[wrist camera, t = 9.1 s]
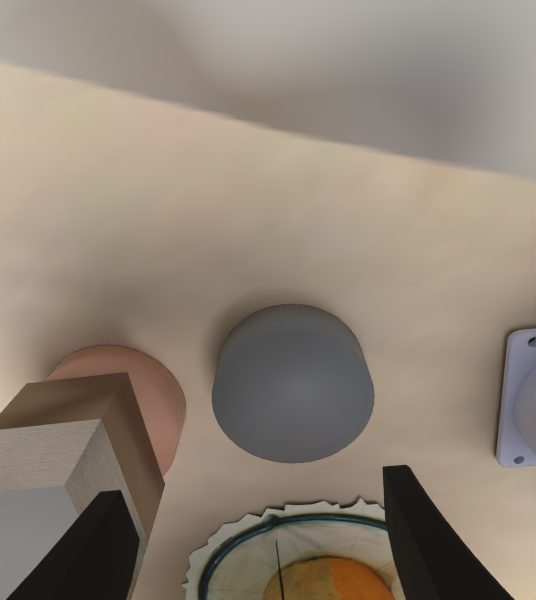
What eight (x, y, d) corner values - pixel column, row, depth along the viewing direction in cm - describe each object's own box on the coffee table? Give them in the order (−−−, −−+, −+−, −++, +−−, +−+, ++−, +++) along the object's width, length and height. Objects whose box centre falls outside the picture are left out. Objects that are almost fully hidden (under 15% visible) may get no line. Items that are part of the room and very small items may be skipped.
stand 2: (359, 295, 20) (371, 321, 17) (367, 419, 22) (377, 456, 20) (206, 313, 20) (197, 340, 18) (232, 432, 23) (227, 469, 21)
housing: (127, 371, 18) (64, 485, 13) (164, 484, 21) (125, 617, 16) (26, 383, 19) (-76, 498, 13) (76, 492, 22) (7, 626, 16)
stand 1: (168, 337, 21) (155, 366, 18) (198, 451, 23) (190, 488, 21) (27, 353, 21) (-3, 383, 19) (73, 462, 24) (52, 500, 22)
